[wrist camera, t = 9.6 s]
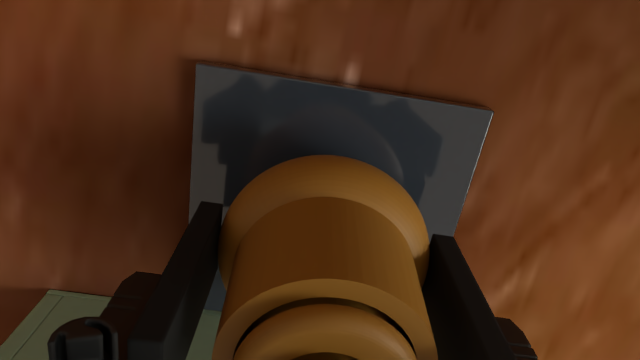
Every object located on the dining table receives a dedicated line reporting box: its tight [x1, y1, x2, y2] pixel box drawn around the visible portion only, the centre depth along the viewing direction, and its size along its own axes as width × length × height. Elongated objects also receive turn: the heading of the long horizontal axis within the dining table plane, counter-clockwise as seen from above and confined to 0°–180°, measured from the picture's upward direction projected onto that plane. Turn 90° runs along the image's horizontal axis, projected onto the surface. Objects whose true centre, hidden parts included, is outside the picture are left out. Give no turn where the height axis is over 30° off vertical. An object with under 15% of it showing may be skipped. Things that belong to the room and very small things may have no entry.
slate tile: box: [188, 61, 494, 312], centre depth 19 cm, size 11×11×1 cm
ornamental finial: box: [212, 155, 438, 360], centre depth 14 cm, size 8×8×8 cm
